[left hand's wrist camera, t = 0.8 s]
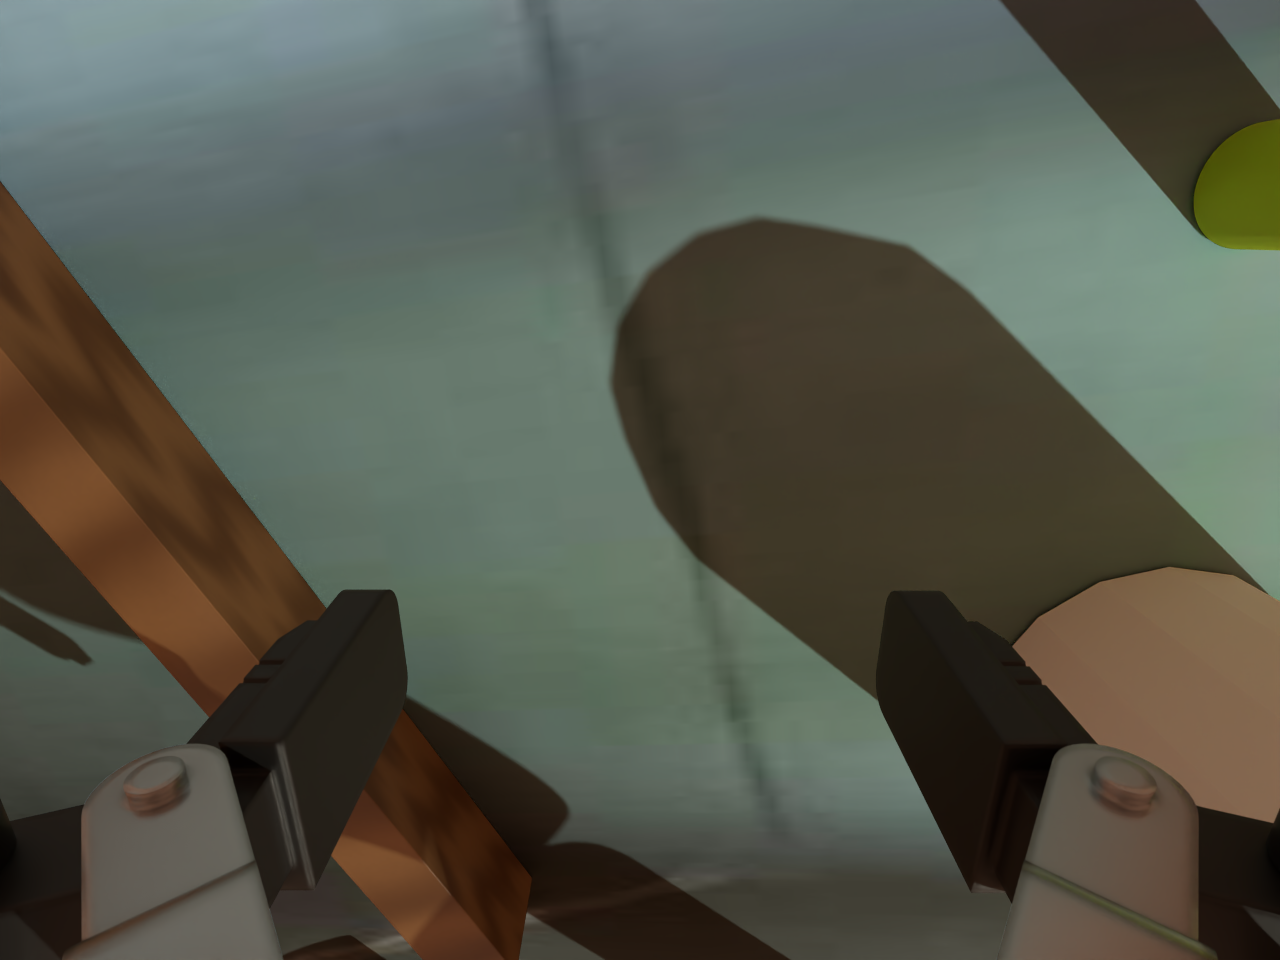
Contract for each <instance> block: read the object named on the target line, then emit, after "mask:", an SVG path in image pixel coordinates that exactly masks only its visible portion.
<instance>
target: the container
mask: <svg viewBox="0 0 1280 960" xmlns="http://www.w3.org/2000/svg"><path fill="white" fill-rule="evenodd" d="M1012 647H1013V648H1014V649H1015V650H1016V652H1017V653H1018V654H1019V655H1020V656H1021V657H1022V658H1023V660H1024V661H1025V662H1026V666H1030V667H1031V669H1032V670H1033V671H1034V672H1035V673H1036V674H1037V675H1038V677H1039V678H1040V679H1041V680H1042V685H1046V686H1047V687H1048V688H1049V689H1050V690H1051V691H1052V693H1053V694H1054V695H1055V696H1056V697H1057V698H1058V699H1059V700H1060V702H1061V703H1062V704H1063V705H1064V706H1065V707H1066V708H1067V710H1068V711H1069V712H1070V713H1071V714H1072V715H1073V716H1074V718H1075V719H1076V720H1077V721H1078V722H1079V723H1080V724H1081V725H1082V727H1083V728H1084V729H1085V730H1086V731H1087V732H1088V733H1089V735H1090V736H1091V737H1092V738H1093V739H1094V740H1095V741H1096V743H1097V744H1098V745H1104V746H1109V747H1113V748H1117V749H1120V750H1123V751H1126V752H1129V753H1131V754H1134V755H1136V756H1138V757H1141V758H1143V759H1145V760H1147V761H1149V762H1151V763H1152V764H1154V765H1156V766H1157V767H1159V768H1161V769H1162V770H1164V771H1165V772H1166V773H1168V774H1169V775H1170V776H1172V777H1173V778H1174V779H1175V780H1176V781H1178V782H1179V783H1180V784H1181V785H1182V786H1183V787H1184V788H1185V789H1186V791H1187V792H1188V793H1189V794H1190V796H1191V797H1192V799H1193V800H1194V802H1195V804H1196V805H1197V806H1200V807H1204V808H1209V809H1213V810H1218V811H1222V812H1226V813H1231V814H1235V815H1240V816H1244V817H1249V818H1253V819H1257V820H1262V821H1266V822H1271V823H1274V821H1275V818H1276V816H1277V813H1278V811H1279V809H1280V601H1278V600H1277V599H1275V598H1273V597H1271V596H1270V595H1268V594H1266V593H1264V592H1262V591H1261V590H1259V589H1257V588H1255V587H1254V586H1252V585H1250V584H1248V583H1246V582H1245V581H1243V580H1241V579H1239V578H1238V577H1236V576H1234V575H1227V574H1220V573H1212V572H1205V571H1197V570H1189V569H1182V568H1174V567H1166V568H1162V569H1157V570H1153V571H1148V572H1143V573H1139V574H1134V575H1130V576H1125V577H1120V578H1116V579H1111V580H1107V581H1102V582H1099V583H1097V584H1095V585H1094V586H1092V587H1090V588H1088V589H1087V590H1085V591H1083V592H1082V593H1080V594H1078V595H1076V596H1075V597H1073V598H1071V599H1069V600H1068V601H1066V602H1064V603H1062V604H1061V605H1059V606H1057V607H1055V608H1054V609H1052V610H1050V611H1048V612H1047V613H1045V614H1043V615H1042V616H1040V617H1038V618H1037V619H1036V620H1035V622H1034V623H1033V624H1032V625H1031V626H1030V627H1029V628H1028V629H1027V630H1026V632H1025V633H1024V634H1023V635H1022V636H1021V637H1020V638H1019V639H1018V641H1017V642H1016V643H1015V644H1014V645H1013V646H1012Z"/></svg>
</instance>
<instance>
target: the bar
mask: <svg viewBox="0 0 1280 960" xmlns="http://www.w3.org/2000/svg"><path fill="white" fill-rule="evenodd" d="M0 480H1V481H2V483H3V484H4V485H5V486H6V487H7V488H8V489H9V490H10V492H11V493H12V494H13V495H14V496H15V497H16V498H17V500H18V501H19V502H20V503H21V504H22V505H23V506H24V508H25V509H26V510H27V511H28V512H29V513H30V514H31V515H32V517H33V518H34V519H35V520H36V521H37V522H38V523H39V525H40V526H41V527H42V528H43V529H44V530H45V531H46V532H47V534H48V535H49V536H50V537H51V538H52V539H53V540H54V542H55V543H56V544H57V545H58V546H59V547H60V548H61V550H62V551H63V552H64V553H65V554H66V555H67V556H68V557H69V559H70V560H71V561H72V562H73V563H74V564H75V565H76V567H77V568H78V569H79V570H80V571H81V572H82V573H83V574H84V576H85V577H86V578H87V579H88V580H89V581H90V582H91V584H92V585H93V586H94V587H95V588H96V589H97V590H98V592H99V593H100V594H101V595H102V596H103V597H104V598H105V599H106V601H107V602H108V603H109V604H110V605H111V606H112V607H113V609H114V610H115V611H116V612H117V613H118V614H119V615H120V616H121V618H122V619H123V620H124V621H125V622H126V623H127V624H128V626H129V627H130V628H131V629H132V630H133V631H134V632H135V634H136V635H137V636H138V637H139V638H140V639H141V640H142V641H143V643H144V644H145V645H146V646H147V647H148V648H149V649H150V651H151V652H152V653H153V654H154V655H155V656H156V657H157V658H158V660H159V661H160V662H161V663H162V664H163V665H164V666H165V668H166V669H167V670H168V671H169V672H170V673H171V674H172V676H173V677H174V678H175V679H176V680H177V681H178V682H179V683H180V685H181V686H182V687H183V688H184V689H185V690H186V691H187V693H188V694H189V695H190V696H191V697H192V698H193V699H194V700H195V702H196V703H197V704H198V705H199V706H200V707H201V708H202V710H203V711H204V712H205V713H206V714H207V715H208V716H209V717H210V716H211V715H212V714H213V713H214V712H215V711H216V709H217V708H218V707H219V706H220V705H221V704H222V703H223V701H224V700H225V699H226V698H227V697H228V696H229V694H230V693H231V692H232V691H233V690H234V689H235V688H236V686H237V685H238V684H239V683H243V681H244V679H243V678H244V677H245V676H246V675H247V674H248V673H249V672H250V670H251V669H252V668H253V667H254V666H255V665H259V660H260V659H261V658H262V657H263V655H264V654H265V653H266V652H267V651H268V650H269V649H270V647H271V646H272V645H273V644H274V643H275V642H276V641H277V639H278V638H280V637H282V636H283V635H285V634H286V633H288V632H290V631H291V630H293V629H294V628H296V627H297V626H299V625H301V624H302V623H304V622H305V621H307V620H318V619H319V618H320V616H321V615H322V614H323V613H324V611H325V610H326V608H325V606H324V605H323V604H322V602H321V601H320V600H319V598H318V597H317V596H316V595H315V593H314V592H313V591H312V589H311V588H310V587H309V585H308V584H307V583H306V581H305V580H304V579H303V577H302V576H301V575H300V574H299V572H298V571H297V570H296V568H295V567H294V566H293V564H292V563H291V562H290V560H289V559H288V558H287V557H286V555H285V554H284V553H283V551H282V550H281V549H280V547H279V546H278V545H277V543H276V542H275V541H274V539H273V538H272V537H271V536H270V534H269V533H268V532H267V530H266V529H265V528H264V526H263V525H262V524H261V522H260V521H259V520H258V519H257V517H256V516H255V515H254V513H253V512H252V511H251V509H250V508H249V507H248V505H247V504H246V503H245V501H244V500H243V499H242V498H241V496H240V495H239V494H238V492H237V491H236V490H235V488H234V487H233V486H232V484H231V483H230V482H229V481H228V479H227V478H226V477H225V475H224V474H223V473H222V471H221V470H220V469H219V467H218V466H217V465H216V463H215V462H214V461H213V460H212V458H211V457H210V456H209V454H208V453H207V452H206V450H205V449H204V448H203V446H202V445H201V444H200V443H199V441H198V440H197V439H196V437H195V436H194V435H193V433H192V432H191V431H190V429H189V428H188V427H187V426H186V424H185V423H184V422H183V420H182V419H181V418H180V416H179V415H178V414H177V412H176V411H175V410H174V408H173V407H172V406H171V405H170V403H169V402H168V401H167V399H166V398H165V397H164V395H163V394H162V393H161V391H160V390H159V389H158V388H157V386H156V385H155V384H154V382H153V381H152V380H151V378H150V377H149V376H148V374H147V373H146V372H145V370H144V369H143V368H142V367H141V365H140V364H139V363H138V361H137V360H136V359H135V357H134V356H133V355H132V353H131V352H130V351H129V350H128V348H127V347H126V346H125V344H124V343H123V342H122V340H121V339H120V338H119V336H118V335H117V334H116V332H115V331H114V330H113V329H112V327H111V326H110V325H109V323H108V322H107V321H106V319H105V318H104V317H103V315H102V314H101V313H100V312H99V310H98V309H97V308H96V306H95V305H94V304H93V302H92V301H91V300H90V298H89V297H88V296H87V294H86V293H85V292H84V291H83V289H82V288H81V287H80V285H79V284H78V283H77V281H76V280H75V279H74V277H73V276H72V275H71V274H70V272H69V271H68V270H67V268H66V267H65V266H64V264H63V263H62V262H61V260H60V259H59V258H58V256H57V255H56V254H55V253H54V251H53V250H52V249H51V247H50V246H49V245H48V243H47V242H46V241H45V239H44V238H43V237H42V236H41V234H40V233H39V232H38V230H37V229H36V228H35V226H34V225H33V224H32V222H31V221H30V220H29V219H28V217H27V216H26V215H25V213H24V212H23V211H22V209H21V208H20V207H19V205H18V204H17V203H16V201H15V200H14V199H13V198H12V196H11V195H10V194H9V192H8V191H7V190H6V188H5V187H4V186H3V184H2V183H1V182H0ZM331 856H332V857H333V858H334V859H335V861H336V862H337V863H338V864H339V865H340V866H341V867H342V868H343V870H344V871H345V872H346V873H347V874H348V875H349V876H350V878H351V879H352V880H353V881H354V882H355V883H356V884H357V885H358V887H359V888H360V889H361V890H362V891H363V892H364V893H365V895H366V896H367V897H368V898H369V899H370V900H371V901H372V903H373V904H374V905H375V906H376V907H377V908H378V909H379V910H380V912H381V913H382V914H383V915H384V916H385V917H386V918H387V920H388V921H389V922H390V923H391V924H392V925H393V926H394V927H395V929H396V930H397V931H398V932H399V933H400V934H401V935H402V937H403V938H404V939H405V940H406V941H407V942H408V943H409V945H410V946H411V947H412V948H413V949H414V950H415V951H416V952H417V954H418V955H419V956H420V957H421V958H422V959H423V960H519V954H520V948H521V942H522V936H523V930H524V924H525V918H526V912H527V906H528V900H529V894H530V888H531V882H532V877H531V876H530V875H529V874H528V872H527V871H526V870H525V868H524V867H523V866H522V864H521V863H520V862H519V860H518V859H517V858H516V857H515V855H514V854H513V853H512V851H511V850H510V849H509V847H508V846H507V845H506V843H505V842H504V841H503V839H502V838H501V837H500V836H499V834H498V833H497V832H496V830H495V829H494V828H493V826H492V825H491V824H490V822H489V821H488V820H487V819H486V817H485V816H484V815H483V813H482V812H481V811H480V809H479V808H478V807H477V805H476V804H475V803H474V802H473V800H472V799H471V798H470V796H469V795H468V794H467V792H466V791H465V790H464V788H463V787H462V786H461V784H460V783H459V782H458V781H457V779H456V778H455V777H454V775H453V774H452V773H451V771H450V770H449V769H448V767H447V766H446V765H445V764H444V762H443V761H442V760H441V758H440V757H439V756H438V754H437V753H436V752H435V750H434V749H433V748H432V746H431V745H430V744H429V743H428V741H427V740H426V739H425V737H424V736H423V735H422V733H421V732H420V731H419V729H418V728H417V727H416V726H415V724H414V723H413V722H412V720H411V719H410V718H409V716H408V715H407V714H406V712H405V711H404V710H403V709H402V711H401V713H400V715H399V717H398V720H397V722H396V724H395V726H394V728H393V730H392V732H391V734H390V736H389V738H388V740H387V742H386V744H385V746H384V748H383V750H382V752H381V754H380V756H379V758H378V760H377V762H376V765H375V767H374V769H373V771H372V773H371V775H370V777H369V779H368V781H367V783H366V785H365V787H364V789H363V791H362V793H361V795H360V797H359V799H358V801H357V803H356V805H355V807H354V810H353V812H352V814H351V816H350V818H349V820H348V822H347V824H346V826H345V828H344V830H343V832H342V834H341V836H340V838H339V840H338V842H337V844H336V846H335V848H334V850H333V852H332V855H331Z"/></svg>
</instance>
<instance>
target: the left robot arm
mask: <svg viewBox="0 0 1280 960" xmlns="http://www.w3.org/2000/svg"><path fill="white" fill-rule="evenodd" d="M243 679H244V681H243V683H239V684H238V685H237V686H236V688H235V689H234V690H233V691H232V692H231V693H230V694H229V696H228V697H227V698H226V699H225V700H224V701H223V703H222V704H221V705H220V706H219V707H218V708H217V709H216V711H215V712H214V713H213V714H212V715H211V716H210V717H209V719H208V720H207V721H206V722H205V723H204V724H203V725H202V727H201V728H200V729H199V730H198V731H197V732H196V733H195V735H194V736H193V737H192V738H191V739H190V740H189V742H188V743H187V744H183V745H176V746H171V747H167V748H163V749H160V750H157V751H154V752H151V753H149V754H146V755H144V756H142V757H139V758H137V759H135V760H133V761H131V762H129V763H128V764H126V765H124V766H123V767H121V768H119V769H118V770H116V771H115V772H114V773H112V774H111V775H110V776H108V777H107V778H106V779H105V780H104V781H102V782H101V783H100V784H99V785H98V786H97V787H96V788H95V789H94V791H93V792H92V793H91V794H90V796H89V797H88V799H87V800H86V802H85V804H84V805H80V806H75V807H71V808H66V809H62V810H58V811H53V812H49V813H44V814H40V815H35V816H31V817H26V818H22V819H18V820H13V821H9V818H8V816H7V814H6V811H5V809H4V806H3V804H2V802H1V799H0V960H283V956H282V953H281V949H280V945H279V942H278V938H277V935H276V931H275V927H274V924H273V920H272V916H271V913H270V907H271V905H272V904H273V902H274V900H275V898H276V896H277V894H278V893H279V891H280V890H314V889H315V887H316V885H317V883H318V881H319V879H320V877H321V875H322V873H323V871H324V869H325V867H326V865H327V863H328V861H329V859H330V857H331V855H332V852H333V850H334V848H335V846H336V844H337V842H338V840H339V838H340V836H341V834H342V832H343V830H344V828H345V826H346V824H347V822H348V820H349V818H350V816H351V814H352V812H353V810H354V807H355V805H356V803H357V801H358V799H359V797H360V795H361V793H362V791H363V789H364V787H365V785H366V783H367V781H368V779H369V777H370V775H371V773H372V771H373V769H374V767H375V765H376V762H377V760H378V758H379V756H380V754H381V752H382V750H383V748H384V746H385V744H386V742H387V740H388V738H389V736H390V734H391V732H392V730H393V728H394V726H395V724H396V722H397V720H398V717H399V715H400V713H401V711H402V709H403V706H404V702H405V698H406V692H407V680H408V676H407V665H406V658H405V651H404V644H403V637H402V629H401V622H400V615H399V608H398V602H397V598H396V596H395V594H394V592H393V591H392V590H343V591H341V592H340V593H339V594H338V595H337V597H336V598H335V599H334V600H333V602H332V603H331V604H330V605H329V606H328V608H327V609H326V610H325V611H324V613H323V614H322V615H321V616H320V618H319V619H318V620H307V621H305V622H304V623H302V624H301V625H299V626H297V627H296V628H294V629H293V630H291V631H290V632H288V633H286V634H285V635H283V636H282V637H280V638H278V639H277V641H276V642H275V643H274V644H273V645H272V646H271V647H270V649H269V650H268V651H267V652H266V653H265V654H264V655H263V657H262V658H261V659H260V660H259V665H255V666H254V667H253V668H252V669H251V670H250V672H249V673H248V674H247V675H246V676H245V677H244V678H243ZM876 689H877V696H878V701H879V705H880V708H881V711H882V713H883V716H884V718H885V720H886V722H887V724H888V726H889V728H890V730H891V732H892V734H893V736H894V738H895V740H896V742H897V744H898V746H899V748H900V750H901V752H902V754H903V756H904V758H905V760H906V762H907V764H908V766H909V768H910V770H911V772H912V774H913V776H914V778H915V780H916V782H917V784H918V786H919V788H920V790H921V792H922V794H923V796H924V798H925V800H926V802H927V804H928V806H929V808H930V810H931V813H932V815H933V817H934V819H935V821H936V823H937V825H938V827H939V829H940V831H941V833H942V835H943V837H944V839H945V841H946V843H947V845H948V847H949V849H950V851H951V853H952V855H953V857H954V859H955V861H956V863H957V865H958V867H959V869H960V871H961V873H962V875H963V877H964V879H965V881H966V883H967V885H968V887H969V889H970V891H971V893H1006V894H1007V896H1008V898H1009V899H1010V901H1011V903H1012V906H1011V909H1010V913H1009V916H1008V920H1007V924H1006V927H1005V931H1004V935H1003V938H1002V942H1001V945H1000V949H999V953H998V956H997V960H1280V809H1279V811H1278V813H1277V816H1276V818H1275V821H1274V823H1271V822H1266V821H1262V820H1257V819H1253V818H1249V817H1244V816H1240V815H1235V814H1231V813H1226V812H1222V811H1218V810H1213V809H1209V808H1204V807H1200V806H1197V805H1196V804H1195V802H1194V800H1193V799H1192V797H1191V796H1190V794H1189V793H1188V792H1187V791H1186V789H1185V788H1184V787H1183V786H1182V785H1181V784H1180V783H1179V782H1178V781H1176V780H1175V779H1174V778H1173V777H1172V776H1170V775H1169V774H1168V773H1166V772H1165V771H1164V770H1162V769H1161V768H1159V767H1157V766H1156V765H1154V764H1152V763H1151V762H1149V761H1147V760H1145V759H1143V758H1141V757H1138V756H1136V755H1134V754H1131V753H1129V752H1126V751H1123V750H1120V749H1117V748H1113V747H1109V746H1104V745H1098V744H1097V743H1096V741H1095V740H1094V739H1093V738H1092V737H1091V736H1090V735H1089V733H1088V732H1087V731H1086V730H1085V729H1084V728H1083V727H1082V725H1081V724H1080V723H1079V722H1078V721H1077V720H1076V719H1075V718H1074V716H1073V715H1072V714H1071V713H1070V712H1069V711H1068V710H1067V708H1066V707H1065V706H1064V705H1063V704H1062V703H1061V702H1060V700H1059V699H1058V698H1057V697H1056V696H1055V695H1054V694H1053V693H1052V691H1051V690H1050V689H1049V688H1048V687H1047V686H1046V685H1042V680H1041V679H1040V678H1039V677H1038V675H1037V674H1036V673H1035V672H1034V671H1033V670H1032V669H1031V667H1030V666H1026V662H1025V661H1024V660H1023V658H1022V657H1021V656H1020V655H1019V654H1018V653H1017V652H1016V650H1015V649H1014V648H1013V647H1012V646H1011V645H1010V644H1009V642H1008V641H1007V640H1005V639H1004V638H1002V637H1001V636H999V635H997V634H996V633H994V632H993V631H991V630H990V629H988V628H986V627H985V626H983V625H982V624H980V623H978V622H967V621H966V620H965V618H964V617H963V616H962V615H961V613H960V612H959V611H958V610H957V609H956V607H955V606H954V605H953V604H952V603H951V601H950V600H949V599H948V598H947V596H946V595H945V594H944V593H943V592H941V591H892V592H891V593H890V594H889V596H888V598H887V602H886V607H885V614H884V621H883V628H882V635H881V642H880V649H879V656H878V663H877V671H876Z"/></svg>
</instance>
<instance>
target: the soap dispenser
mask: <svg viewBox="0 0 1280 960" xmlns="http://www.w3.org/2000/svg"><path fill="white" fill-rule="evenodd" d="M1194 213H1195V218H1196V221H1197V224H1198V226H1199V228H1200V229H1201V231H1202V232H1203V234H1204V235H1205V236H1206V237H1207V238H1208V239H1209V240H1211V241H1212V242H1214V243H1215V244H1217V245H1219V246H1222V247H1225V248H1230V249H1251V250H1280V119H1276V120H1271V121H1265V122H1260V123H1256V124H1253V125H1250V126H1248V127H1245V128H1243V129H1241V130H1240V131H1238V132H1236V133H1235V134H1233V135H1232V136H1230V137H1229V138H1228V139H1226V140H1225V141H1224V142H1223V143H1222V144H1221V145H1220V146H1219V147H1218V148H1217V149H1216V150H1215V151H1214V152H1213V154H1212V155H1211V156H1210V158H1209V159H1208V161H1207V162H1206V164H1205V165H1204V167H1203V169H1202V171H1201V173H1200V176H1199V178H1198V181H1197V184H1196V188H1195V193H1194Z"/></svg>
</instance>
